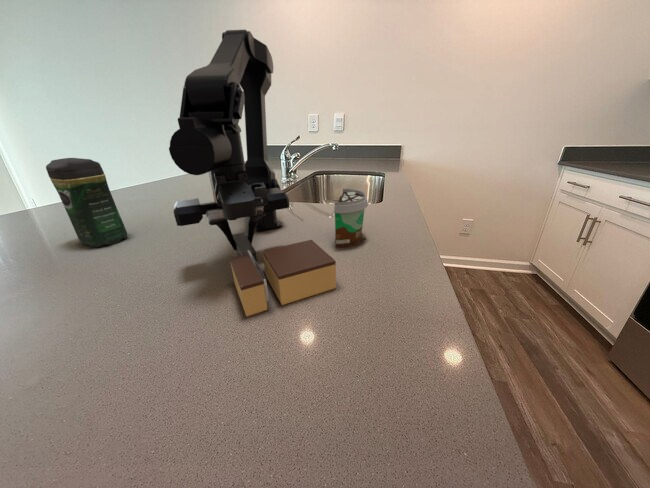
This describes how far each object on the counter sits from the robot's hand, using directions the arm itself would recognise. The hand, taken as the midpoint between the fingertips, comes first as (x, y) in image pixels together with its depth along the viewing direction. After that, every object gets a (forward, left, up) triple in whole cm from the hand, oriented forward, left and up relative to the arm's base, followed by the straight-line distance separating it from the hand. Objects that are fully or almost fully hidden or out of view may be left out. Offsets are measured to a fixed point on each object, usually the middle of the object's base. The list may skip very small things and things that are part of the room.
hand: (242, 248), depth 49 cm
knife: (+7, 0, -1) cm, 7 cm away
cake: (+13, +7, -2) cm, 14 cm away
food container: (+2, +24, -3) cm, 24 cm away
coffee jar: (-26, -27, -3) cm, 38 cm away
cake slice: (+13, -2, -2) cm, 13 cm away
